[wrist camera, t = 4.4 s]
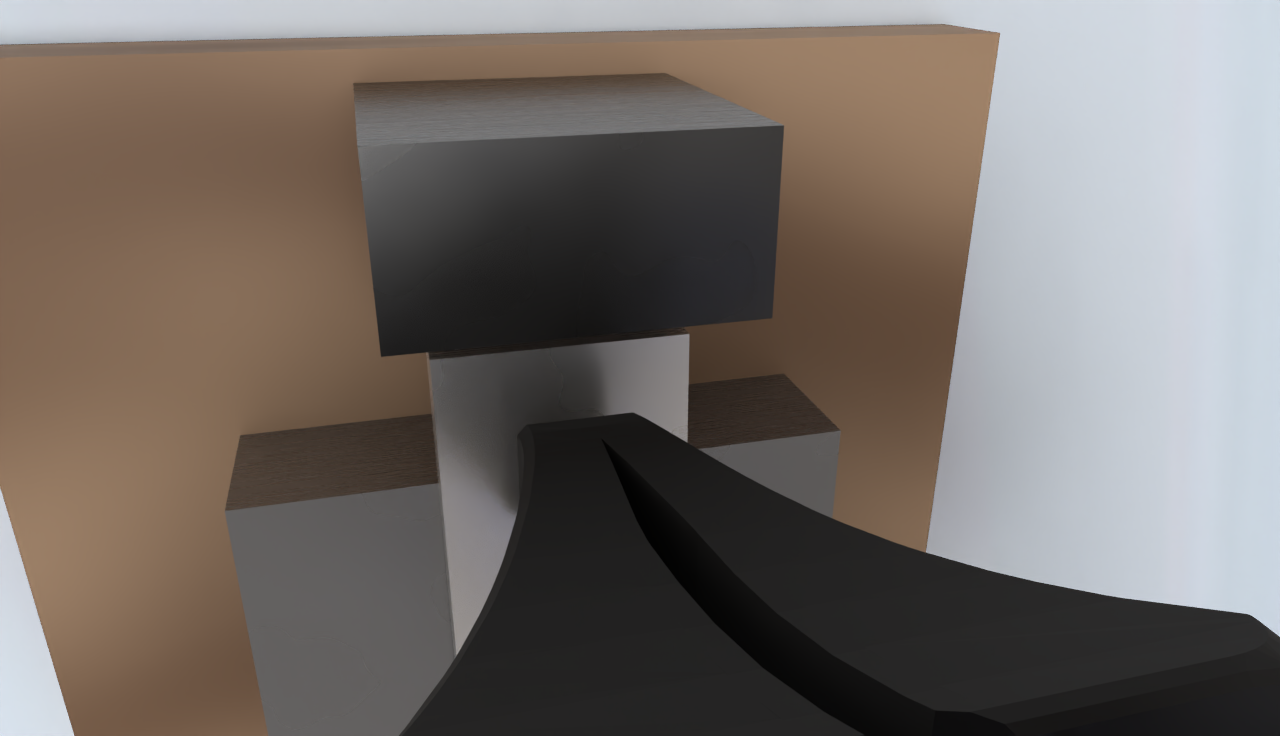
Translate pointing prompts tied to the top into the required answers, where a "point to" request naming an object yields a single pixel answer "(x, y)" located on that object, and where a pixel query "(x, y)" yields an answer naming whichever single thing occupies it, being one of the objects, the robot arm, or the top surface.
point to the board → (345, 306)
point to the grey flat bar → (522, 395)
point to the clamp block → (499, 315)
